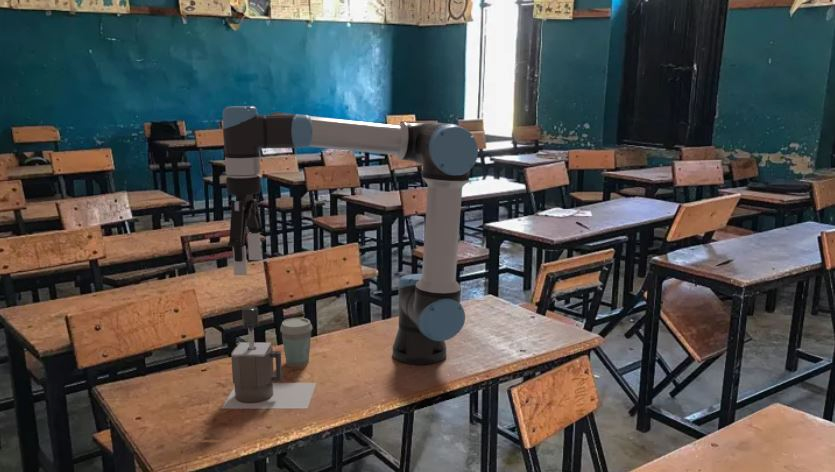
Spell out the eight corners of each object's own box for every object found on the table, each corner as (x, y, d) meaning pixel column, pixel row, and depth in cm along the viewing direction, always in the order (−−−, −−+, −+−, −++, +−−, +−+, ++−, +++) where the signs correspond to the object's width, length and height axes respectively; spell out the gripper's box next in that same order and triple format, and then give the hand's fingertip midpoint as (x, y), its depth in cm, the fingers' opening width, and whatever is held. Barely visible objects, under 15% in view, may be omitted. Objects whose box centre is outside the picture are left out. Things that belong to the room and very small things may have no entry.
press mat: (316, 384, 172) (316, 382, 172) (307, 410, 158) (307, 408, 158) (237, 384, 172) (237, 382, 172) (221, 410, 158) (221, 408, 158)
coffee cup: (307, 371, 180) (305, 328, 177) (276, 369, 181) (274, 326, 179) (318, 359, 188) (316, 318, 185) (288, 357, 190) (287, 316, 187)
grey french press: (285, 387, 169) (283, 341, 167) (278, 403, 161) (276, 355, 158) (240, 387, 169) (237, 341, 167) (230, 403, 161) (227, 355, 158)
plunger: (262, 371, 166) (259, 306, 162) (259, 377, 162) (255, 311, 159) (247, 371, 166) (244, 306, 162) (243, 377, 162) (240, 311, 159)
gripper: (240, 169, 166) (245, 253, 170) (209, 183, 141) (216, 281, 146) (271, 169, 166) (275, 253, 170) (246, 183, 141) (251, 281, 146)
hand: (248, 267), depth 158 cm, fingers open, 13 cm apart
